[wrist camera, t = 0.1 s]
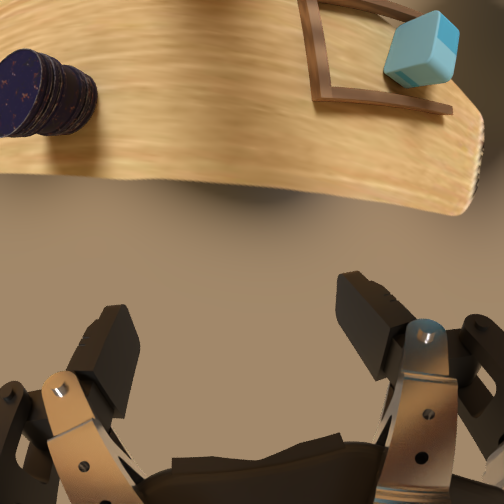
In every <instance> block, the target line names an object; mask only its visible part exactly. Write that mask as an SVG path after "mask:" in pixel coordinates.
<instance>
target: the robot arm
mask: <svg viewBox="0 0 504 504" xmlns="http://www.w3.org/2000/svg"><path fill="white" fill-rule="evenodd" d="M335 311H336V317H337V321H338V323H339V325H340V326H341V328H342V329H343V331H344V332H345V334H346V336H347V337H348V339H349V340H350V342H351V343H352V345H353V346H354V348H355V349H356V351H357V353H358V354H359V356H360V357H361V359H362V360H363V362H364V364H365V365H366V367H367V368H368V370H369V371H370V373H371V375H372V376H373V378H374V379H375V381H378V380H381V379H384V378H386V377H387V378H388V379H389V381H390V382H389V385H388V388H387V393H386V397H385V401H384V405H383V409H382V413H381V417H380V420H379V424H378V427H377V430H376V433H375V436H374V438H373V440H372V443H367V442H343V440H342V437H341V435H340V433H336V434H333V435H329V436H326V437H322V438H318V439H314V440H311V441H306V442H303V443H299V444H297V445H295V446H292V447H290V448H288V449H286V450H283V451H281V452H279V453H276V454H274V455H271V456H269V457H267V458H264V459H261V460H256V461H254V460H240V459H229V458H222V457H214V456H210V457H193V458H192V457H190V458H172V468H170V469H167V470H163V471H160V472H158V473H155V474H154V475H151V476H150V477H148V476H147V475H146V474H145V473H144V472H143V471H142V470H141V468H140V467H139V466H138V465H137V463H136V462H135V460H134V459H133V458H132V456H131V455H130V453H129V452H128V450H127V449H126V447H125V446H124V444H123V443H122V441H121V440H120V438H119V436H118V435H117V433H116V431H115V430H114V428H113V427H112V426H111V422H112V418H123V419H124V417H125V413H126V408H127V403H128V399H129V394H130V390H131V386H132V381H133V377H134V373H135V369H136V365H137V361H138V357H139V353H140V342H139V337H138V335H137V332H136V330H135V327H134V324H133V322H132V319H131V317H130V314H129V311H128V308H127V307H126V305H124V304H121V305H111V306H106V307H105V308H104V310H103V312H102V313H101V315H100V317H99V319H98V320H95V321H94V322H93V323H92V324H91V325H90V326H89V327H88V328H87V330H86V331H85V333H84V335H83V339H81V341H80V343H79V346H78V347H77V348H76V350H75V352H74V354H73V356H72V358H71V360H70V362H69V364H68V367H67V369H66V371H60V372H57V373H55V374H53V375H51V376H50V377H49V378H48V379H47V380H46V381H45V383H44V384H43V386H42V389H41V390H36V391H31V392H27V391H26V390H25V388H24V387H23V385H22V384H21V383H20V382H18V381H11V382H8V383H6V384H5V385H4V386H2V387H1V388H0V504H56V500H57V492H58V486H59V479H60V480H61V482H62V484H63V487H64V489H65V491H66V494H67V495H68V498H69V500H70V502H71V504H504V331H503V330H502V329H500V327H498V325H496V324H495V323H494V322H493V321H492V320H491V319H489V318H488V317H486V316H484V315H480V314H472V315H469V316H467V317H466V318H465V320H464V323H463V326H462V328H461V329H452V330H445V329H444V327H443V326H442V325H440V324H439V323H437V322H435V321H433V320H430V319H416V318H415V317H414V316H413V315H412V314H411V313H410V312H409V311H408V310H407V309H406V308H405V307H404V306H403V305H402V304H401V303H400V302H399V301H397V300H396V298H395V297H394V296H393V295H391V294H390V292H389V291H388V290H387V289H386V288H385V287H383V286H382V285H380V284H378V283H376V282H374V281H369V280H368V279H367V278H366V277H365V276H363V275H362V274H361V273H360V272H359V271H353V272H347V273H342V274H339V276H338V279H337V294H336V309H335ZM481 366H482V367H483V368H484V369H485V370H486V371H487V373H488V374H489V375H490V376H491V377H492V379H493V380H494V381H495V383H496V394H495V396H494V397H493V396H492V394H491V393H490V392H489V390H488V389H487V388H486V386H485V385H484V384H483V382H482V381H481V380H480V379H479V377H478V376H477V373H478V371H479V370H480V368H481ZM457 415H459V416H460V418H461V419H462V421H463V422H464V424H465V426H466V427H467V429H468V431H469V432H470V434H471V436H472V437H473V439H474V441H475V442H476V444H477V446H478V447H479V449H480V451H481V453H482V454H483V456H484V458H485V459H486V461H487V463H486V471H485V472H484V473H483V476H482V479H483V482H484V483H482V482H478V481H474V480H471V479H468V478H464V477H461V476H458V475H455V474H452V469H453V462H454V455H455V446H456V434H457ZM21 434H23V435H24V436H25V437H26V438H27V439H28V440H29V441H30V444H29V447H28V450H27V454H26V457H25V461H24V465H23V469H22V468H20V466H19V465H18V463H17V461H16V458H15V454H16V450H17V446H18V443H19V440H20V437H21Z"/></svg>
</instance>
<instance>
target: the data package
mask: <svg viewBox="0 0 504 504" xmlns="http://www.w3.org/2000/svg"><path fill="white" fill-rule="evenodd" d="M458 41H459V30H458V29H457V28H456V27H455V26H454V25H453V24H452V23H451V22H450V21H449V20H448V19H447V18H446V17H445V16H444V15H442V14H441V13H440V12H439V11H432V12H430V13H427V14H425V15H422V16H420V17H417V18H415V19H413V20H411V21H408V22H406V23H404V24H402V25H400V26H399V27H398V28H397V29H396V31H395V34H394V37H393V41H392V44H391V47H390V50H389V54H388V57H387V60H386V63H385V66H384V73H385V74H386V75H387V76H389V77H390V78H392V79H393V80H394V81H396V82H397V83H398V84H400V85H401V86H402V87H404V88H412V87H419V86H425V85H432V84H440V83H446V82H448V81H449V80H450V79H451V78H452V76H453V72H454V67H455V61H456V54H457V48H458Z"/></svg>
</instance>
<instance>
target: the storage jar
mask: <svg viewBox="0 0 504 504" xmlns="http://www.w3.org/2000/svg"><path fill="white" fill-rule="evenodd" d="M97 97H98V96H97V87H96V84H95V82H94V81H93V79H92V78H91V77H90V76H88V75H87V74H84V73H83V72H82V71H80V70H78V69H76V68H75V67H73V66H70V65H62V64H61V63H60V62H59V61H58V60H56V59H55V58H53V57H50V56H48V55H46V54H43V53H38V52H36V51H34V50H31V49H19V50H17V51H14V52H13V53H11V54H9V55H8V56H7V57H6V58H4V59H3V60H2V61H1V62H0V138H3V137H28V136H31V135H34V134H39V135H43V136H57V135H67V134H71V133H74V132H76V131H78V130H79V129H81V128H82V127H83V126H84V125H85V124H86V123H87V122H88V120H89V119H90V118H91V116H92V114H93V112H94V110H95V107H96V103H97Z"/></svg>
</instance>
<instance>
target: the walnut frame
mask: <svg viewBox="0 0 504 504" xmlns="http://www.w3.org/2000/svg"><path fill="white" fill-rule="evenodd" d="M297 1H298V6H299V12H300V17H301V23H302V29H303V35H304V41H305V48H306V55H307V62H308V70H309V77H310V86H311V95H312V101H332V102H350V103H363V104H374V105H383V106H391V107H398V108H405V109H412V110H417V111H423V112H428V113H434V114H438V115H453V108H452V106H450V105H446V104H442V103H438V102H434V101H430V100H425V99H420V98H416V97H410V96H405V95H400V94H394V93H387V92H380V91H373V90H364V89H355V88H344V87H331V80H330V72H329V65H328V58H327V51H326V45H325V39H324V33H323V28H322V22H321V17H320V12H319V7H318V3H317V2H320V3H327V4H333V5H339V6H344V7H349V8H354V9H359V10H363V11H367V12H371V13H375V14H379V15H383V16H386V17H390V18H393V19H396V20H399V21H402V22H405V23H406V22H408V21H411V20H413V19H415V18H417V17H420V16H422V15H425V14H423V13H420V12H418V11H415V10H413V9H410V8H407V7H405V6H402V5H399V4H396V3H393V2H390V1H387V0H297Z"/></svg>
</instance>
